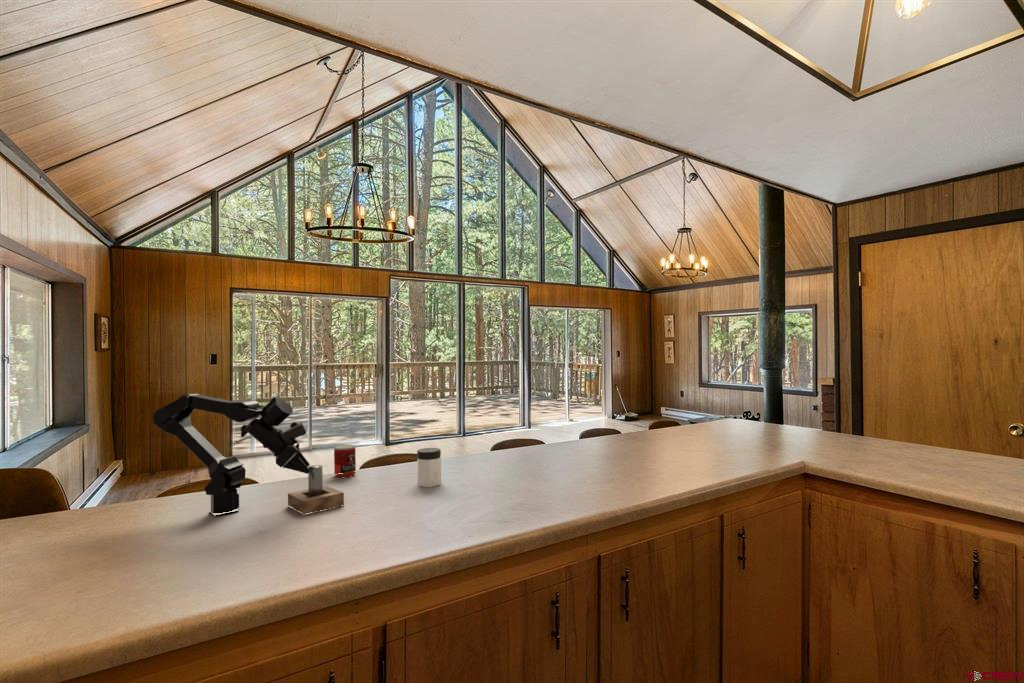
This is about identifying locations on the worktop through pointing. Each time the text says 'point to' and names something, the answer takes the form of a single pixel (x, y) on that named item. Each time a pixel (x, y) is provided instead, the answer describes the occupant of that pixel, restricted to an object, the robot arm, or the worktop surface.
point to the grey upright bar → (315, 481)
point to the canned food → (344, 460)
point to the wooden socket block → (315, 500)
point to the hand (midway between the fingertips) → (308, 469)
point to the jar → (429, 467)
